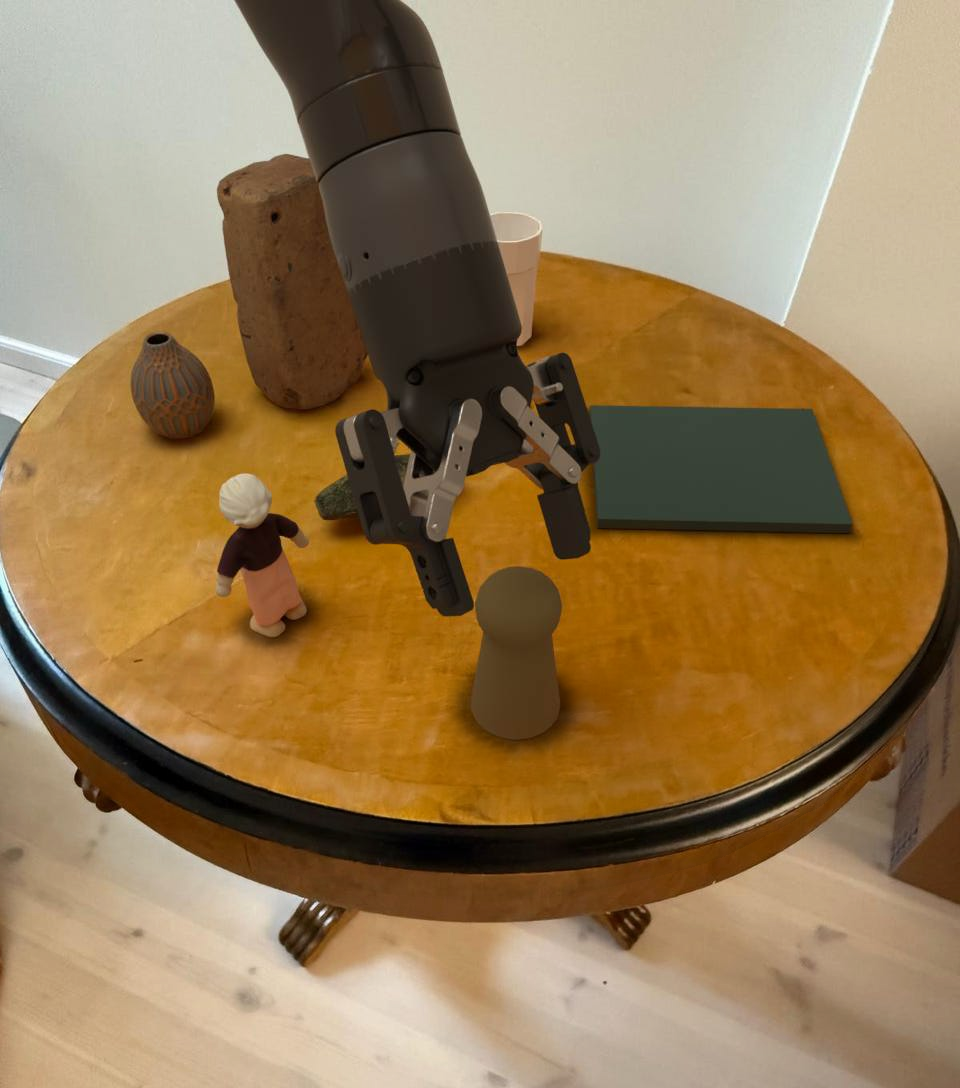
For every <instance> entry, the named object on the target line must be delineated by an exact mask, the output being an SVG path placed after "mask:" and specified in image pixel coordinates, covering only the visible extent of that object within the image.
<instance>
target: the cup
mask: <svg viewBox="0 0 960 1088" xmlns="http://www.w3.org/2000/svg"><path fill="white" fill-rule="evenodd" d="M489 214H490V217H491V221H492V224H493V228H494V231H495V235H496V238H497V242H498V245H499V248H500V252H501V255H502V259H503V262H504V266H505V269H506V273H507V276H508V280H509V283H510V287H511V290H512V294H513V297H514V301H515V304H516V308H517V311H518V315H519V318H520V322H521V325H522V332H521V335H520V337H519V338H518V339H517V347H521V346H524V344H525V343H527V341H528V340H530V339H531V338H532V334H533V333H532V331H533V318H534V311H535V310H534V309H535V298H536V288H537V278H538V267H539V262H540V261H541V260H540V259H541V250H542V238H543V237H542V236H543V223H542V222H541V220H539V219H538V218H536V217H535V216H532V215H530V214H527V213H523V212H515V211H497V212H493V213H489Z"/></svg>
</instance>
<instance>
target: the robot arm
mask: <svg viewBox="0 0 960 1088" xmlns="http://www.w3.org/2000/svg"><path fill="white" fill-rule="evenodd" d="M233 1H234V3H235V4H236V6H237V8H238V10H239V12H240V13H241V15H242V17H243V18H244V20H245V22H246V24H247V26H248V27H249V29H250V32H252V34H253V36H254V39H255V40H256V42H257V43H258V45H259V47H260V48H261V50H262V52H263V53H264V55H265V56H266V58H267V60H268V61H269V63H270V64H271V66H272V67H273V69H274V70H275V72H276V74H277V75H278V76H279V78H280V80H281V82H282V83H283V86H284V87H285V89H286V91H287V93H288V95H289V98H290V100H291V104H292V108H293V111H294V114H295V118H296V122H297V125H298V129H299V132H300V135H301V138H302V141H303V144H304V147H305V150H306V154H307V157H308V158H309V160H310V163H311V166H312V169H313V172H314V175H315V178H316V181H317V184H318V185H319V190H320V194H321V198H322V202H323V206H324V211H325V217H326V223H327V227H328V232H329V236H330V240H331V243H332V247H333V250H334V253H335V256H336V259H337V262H338V265H339V268H340V271H341V274H342V277H343V280H344V283H345V286H346V289H347V292H348V296H349V299H350V302H351V305H352V308H353V311H354V314H355V317H356V320H357V324H358V327H359V330H360V333H361V336H362V339H363V342H364V345H365V348H366V351H367V354H368V355H367V358H368V360H369V363H370V366H371V369H372V372H373V374H374V377H375V378H376V379H377V380H378V381H380V383H381V384H382V386H383V387H384V389H385V391H386V397H387V399H386V400H387V405H386V407H387V408H386V410H384V411H383V410H382V411H379V410H377V409H375V408H374V409H373V408H372V409H367V410H364V411H362V412H360V413H356V414H354V415H351V416H349V417H346V418H343V419H340V420H339V421H338V422H337V423H336V425H335V429H334V433H335V437H336V441H337V445H338V448H339V451H340V454H341V458H342V462H343V465H344V469H345V471H346V474H347V476H348V479H349V482H350V486H351V489H352V493H353V496H354V500H355V503H356V507H357V510H358V514H359V517H360V518H359V520H360V524H361V527H362V531H363V535H364V538H365V539H366V541H367V542H368V543H369V544H371V545H375V546H376V545H399V546H402V547H404V548H405V549H407V550H408V552H409V554H410V557H411V559H412V562H413V565H414V569H415V571H416V575H417V577H418V580H419V581H420V582H419V583H420V586H421V589H422V593H423V595H424V599H425V601H426V602H427V604H428V605H429V606H430V608H431V609H432V610H435V609H436V610H437V612H438V613H439V615H440V616H442V617H461V616H463V615H465V614H467V613H469V612H472V611H473V610H474V609H475V601H474V599H473V595H472V592H471V589H470V585H469V583H468V579H467V576H466V573H465V570H464V567H463V564H462V561H461V558H460V555H459V552H458V550H457V546H456V542H455V539H454V537H449V538H447V535H448V532H449V527H450V523H451V518H452V515H453V514H452V513H453V509H454V504H455V501H456V500H457V498H458V497H459V496H460V495H461V494H462V492H463V490H464V488H465V487H464V486H465V482H466V478H467V477H471V476H474V475H477V474H480V473H483V472H485V471H486V470H487V469H489V468H490V467H492V466H495V465H496V466H497V465H500V464H505V465H506V466H508V467H510V468H513V469H516V470H519V471H520V472H521V473H522V474H523V475H524V476H525V477H526V478H527V479H529V480H530V481H531V482H532V483H533V484H534V485H535V486H536V487H537V488H539V489H540V490H543V492H542V493H540V494H537V495H536V497H537V501H538V504H539V508H540V511H541V514H542V517H543V521H544V524H545V528H546V531H547V534H548V537H549V542H550V544H551V548H552V552H553V554H554V556H555V557H556V558H557V559H558V560H561V561H563V560H572V559H580V558H581V557H584V556H586V555H587V554H589V553H590V552H591V547H592V545H591V542H590V541H591V540H592V539H591V538H592V537H591V535H592V534H591V532H592V531H591V527H590V524H589V521H588V517H587V514H586V510H585V509H586V508H585V506H584V502H583V499H582V496H581V495H582V494H581V492H580V487H579V482H580V481H581V478H582V473H583V472H584V471H585V470H586V468H588V466H589V465H591V464H593V463H595V462H597V461H598V460H599V458H600V447H599V444H598V441H597V438H596V435H595V432H594V429H593V426H592V422H591V419H590V412H589V410H588V407H587V404H586V400H585V397H584V394H583V392H582V388H581V385H580V381H579V379H578V376H577V373H576V369H575V366H574V364H573V361H572V358H571V356H570V355H569V354H568V353H566V352H564V351H563V352H562V351H561V352H559V353H555V354H551V355H549V356H546V357H543V358H540V359H538V360H536V361H532V362H529V364H527V365H526V364H525V363H524V362H523V360H522V358H521V356H520V354H519V351H518V346H517V339H518V338H519V337H520V335H521V332H522V325H521V322H520V318H519V315H518V311H517V308H516V304H515V301H514V297H513V294H512V290H511V287H510V283H509V280H508V276H507V273H506V269H505V266H504V262H503V259H502V255H501V252H500V248H499V245H498V242H497V238H496V235H495V231H494V228H493V224H492V221H491V217H490V214H491V213H490V210H489V207H488V204H487V200H486V197H485V193H484V191H483V188H482V184H481V182H480V179H479V177H478V174H477V171H476V170H475V167H474V165H473V163H472V161H471V158H470V156H469V154H468V153H469V152H468V150H467V148H466V146H465V142H464V139H463V137H462V133H461V130H460V129H461V128H460V126H459V122H458V118H457V115H456V112H455V109H454V105H453V102H452V101H453V100H452V98H451V95H450V91H449V87H448V84H447V80H446V77H445V74H444V70H443V66H442V63H441V59H440V57H439V55H438V51H437V48H436V46H435V43H434V40H433V38H432V35H431V33H430V31H429V29H428V27H427V25H426V24H425V22H424V21H423V20H422V18H421V16H419V14H418V13H417V12H416V11H415V10H414V9H412V8H411V7H410V6H408V4H406V3H405V2H403V1H402V0H233ZM532 401H533V403H534V405H535V409H536V411H537V413H536V412H535V411H534V410H532V409H531V405H532ZM566 425H567V426H568V427H569V429H570V433H571V435H572V439H573V441H574V444H572V443H571V439H570V436H569V433H568V430H567V427H566ZM400 442H401V443H403V445H405V447H406V448H407V449H409V450H410V453H409V454H410V457H409V462H408V466H407V470H406V475H405V479H404V483H403V484H402V480H401V477H400V473H399V469H398V466H397V462H396V459H395V455H396V452H397V447H398V446H399V443H400ZM433 470H434V471H435V472H436V473H435V474H433ZM432 474H433V475H432Z"/></svg>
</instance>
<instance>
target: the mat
mask: <svg viewBox="0 0 960 1088" xmlns="http://www.w3.org/2000/svg"><path fill="white" fill-rule="evenodd" d="M589 416H590V419H591V422H592V426H593V429H594V432H595V435H596V438H597V441H598V444H599V447H600V458H599V460H598V461H597V462H595V463H592V472H593V486H594V503H595V515H596V528H597V529H620V530H622V529H623V530H624V529H626V530H631V529H632V530H664V531H665V530H666V531H667V530H670V531H672V530H675V531H715V532H716V531H717V532H718V531H719V532H720V531H721V532H723V531H724V532H761V533H762V532H765V533H767V532H772V533H775V532H776V533H811V534H812V533H817V534H823V533H824V534H850V532H851V529H852V527H853V521H852V518H851V515H850V512H849V509H848V506H847V504H846V501H845V498H844V495H843V492H842V490H841V487H840V484H839V481H838V478H837V475H836V473H835V470H834V466H833V464H832V461H831V458H830V455H829V453H828V450H827V447H826V443H825V441H824V439H823V436H822V432H821V430H820V427H819V425H818V422H817V418H816V416H815V413H814V410H813V408H785V407H784V408H781V407H779V408H777V407H723V406H722V407H717V406H713V407H711V406H657V405H656V406H654V405H652V406H651V405H603V404H602V405H598V404H597V405H592V404H591V405H590V407H589Z"/></svg>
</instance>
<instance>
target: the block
mask: <svg viewBox="0 0 960 1088" xmlns="http://www.w3.org/2000/svg"><path fill="white" fill-rule="evenodd" d="M216 197H217V201H218V204H219V207H220V209H221V211H222V214H223V220H222V226H221V227H222V228H221V229H222V234H223V236H222V237H223V244H224V251H225V257H226V263H227V270H228V276H229V281H230V286H231V290H232V295H233V299H234V301H235V303H236V306H237V308H236V317H237V325H238V329H239V334H240V338H241V343H242V346H243V351H244V355H245V360H246V362H247V365H248V368H249V371H250V374H251V377H252V379H253V382H254V384H255V385H256V387H258V389H259V390H260V391H261V392H262V394H264V396H265V397H266V398H268V399H269V400H270V401H271V402H273V403H274V404H276V406H277V405H278V406H279V407H281V408H285V409H295V410H296V409H297V410H298V409H299V410H311V409H313V408H319V407H322V406H324V405H325V406H326V405H327V404H330V403H332V402H333V401H335V400H336V399H338V398H340V396H341V395H342V394H343V393H344V392H345V391H346V390H347V389H349V388H351V387H352V386H353V385H354V384H356V382H357V383H358V381H359V379H360V377H361V374H362V372H363V368H364V364H365V361H366V359H367V358H368V354H367V351H366V348H365V345H364V342H363V339H362V336H361V333H360V330H359V327H358V324H357V320H356V317H355V314H354V311H353V308H352V305H351V302H350V299H349V296H348V292H347V289H346V286H345V283H344V280H343V277H342V274H341V271H340V268H339V265H338V262H337V259H336V256H335V253H334V250H333V247H332V243H331V240H330V236H329V232H328V227H327V223H326V217H325V211H324V206H323V202H322V198H321V194H320V190H319V185H318V184H317V181H316V178H315V175H314V172H313V169H312V166H311V163H310V160H309V157H303V156H300V155H299V156H298V155H296V154H295V155H294V154H290V153H283V154H278V155H274V157H272V158H270V159H269V160H262V161H255V162H254V161H253V162H252V163H249V164H248V165H246V166H244V167H241V168H239V169H237V170H234V171H232V172H229V173H228V174H227V175H225V176H224V177H223V178H221V179H220V180H219V181H218V184H217V187H216Z"/></svg>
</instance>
